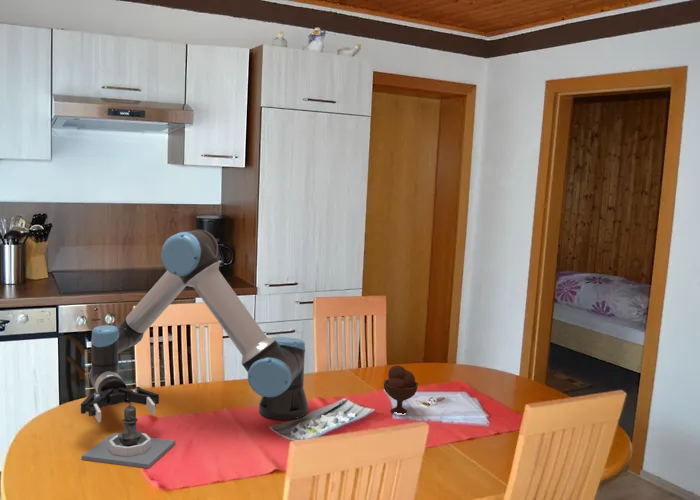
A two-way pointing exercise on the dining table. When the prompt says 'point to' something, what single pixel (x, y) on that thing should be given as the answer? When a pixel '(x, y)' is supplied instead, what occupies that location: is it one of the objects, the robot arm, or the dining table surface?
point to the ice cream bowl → (400, 386)
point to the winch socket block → (129, 451)
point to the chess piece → (129, 428)
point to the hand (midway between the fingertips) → (127, 413)
